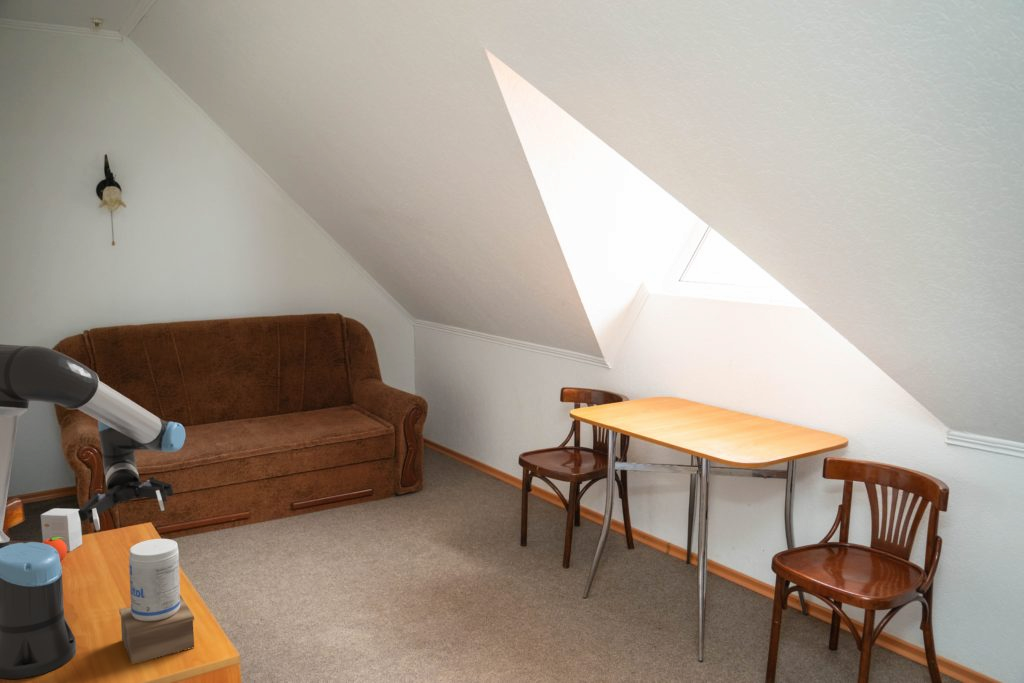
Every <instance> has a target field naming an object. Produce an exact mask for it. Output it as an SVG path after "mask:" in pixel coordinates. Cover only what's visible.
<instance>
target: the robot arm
mask: <svg viewBox="0 0 1024 683" xmlns="http://www.w3.org/2000/svg"><path fill="white" fill-rule="evenodd" d="M30 402H44V403H50V404H51V403H52V404H55V405H59V406H61V407H62V408H65V409H67V410H79V411H80V412H82V413H84V414H86V415H88V416H89V417H91V418H93V419H95V420H97V425H98V430H97V433H98V436H99V442H100V447H101V448H100V449H101V454H102V455H101V456H102V458H101V459H102V464H103V466H102V468H103V474H104V476H105V485H106V491H105V492H104V493H101V494H100V493H99V492H94V493H93V494H92V496H91V498H90V499H88V501H86V502H85V504H83V505H82V506H81V507H80V508H79V511H78V513H79V517H80V521H81V522H85V521H88V523H89V524H94V528H95V531H100V529H101V526H100V517H99V516H100V515H101V514H103V513H105V511H107V510H108V509H110V508H111V507H116V506H117V505H118V504H120V503H125V502H129V501H132V500H134V499H143V498H149V499H157V501H158V505H159V508H160V511H161V512H164V511H165V506H164V503H166V502H168V496H169V497H170V496H174V494H175V493H174V489H173V485H172V484H170V483H168V482H165V481H161V480H158V479H155V477H154V476H153V477H152V476H151V477H149V478H148V480H146V481H145V482H143V481H141V480H140V479H141V478H140V476H139V472H138V467H137V460H136V452H135V450H137V451H149V452H150V451H151V452H162V453H173V452H175V453H176V452H178V451H179V450H181V448H183V446H184V443H185V440H186V430H185V427H184V426H183V424H181V423H179V422H174V421H166V420H163V419H161V418H160V417H159V416H157V415H155V414H153V413H152V412H150V411H148V410H147V409H146V408H144V407H142V406H140V405H139V404H137V403H136V402H135V401H133V400H131V399H130V398H128V397H126V396H125V395H124V394H121V393H120V392H118V391H117V390H115V389H113V388H112V387H110V386H109V385H108V384H105V383H104V382H102V380H101V381H100V379H99V375H98V374H97V372H95V371H94V370H93V369H90V368H89V367H88V366H87V365H85V364H83V363H82V362H79V361H77V360H76V359H74V358H73V357H71V356H68V355H66V354H64V353H62V352H59V351H57V350H55V349H53V348H49V347H45V346H39V345H19V344H18V345H17V344H16V345H15V344H2V343H0V678H1V679H7V680H8V679H9V680H16V679H18V680H19V679H25V678H32V677H36V676H40V675H42V674H43V675H44V674H46V673H48V672H51V671H54V670H56V669H58V668H59V667H62V666H64V665H65V664H66V663H68V662H70V660H72V659H73V657H74V656H76V652H77V642H76V637H75V635H74V633H73V631H72V629H71V627H70V625H69V622H67V620H66V617H65V609H64V608H65V607H64V590H63V589H64V588H63V567H62V563H61V562H60V557H59V553H58V551H57V550H56V549H55V548H54V547H52V546H50V545H47V544H44V543H42V542H38V541H37V542H35V541H29V542H26V543H24V542H17V543H11V544H10V539H11V538H10V537H9V536H8V535H6V533H5V532H4V531H3V530H4V524H5V523H4V522H5V516H6V508H7V503H8V502H7V500H8V495H9V494H8V493H9V488H10V479H11V473H12V472H11V470H12V465H13V459H14V453H15V452H14V450H15V445H16V444H15V443H16V437H17V430H18V422H19V418H20V417H21V416H22V415H23V414H25V413H26V412H27V411H28V410H29V404H30Z"/></svg>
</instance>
